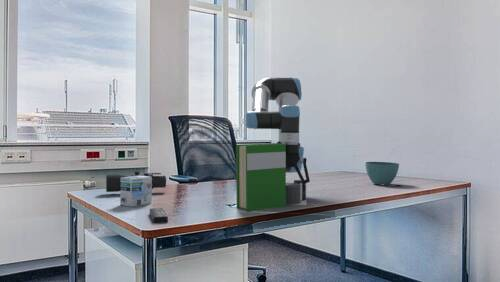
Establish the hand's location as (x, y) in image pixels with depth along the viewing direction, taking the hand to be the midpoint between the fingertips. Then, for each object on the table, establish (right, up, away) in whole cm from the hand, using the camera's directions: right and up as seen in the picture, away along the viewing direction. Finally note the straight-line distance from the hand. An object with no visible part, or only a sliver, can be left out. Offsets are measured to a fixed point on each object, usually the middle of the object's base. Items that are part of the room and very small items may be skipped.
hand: (288, 199), depth 164 cm
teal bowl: (+59, -1, +66) cm, 89 cm away
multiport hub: (-46, -2, -30) cm, 55 cm away
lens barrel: (+5, -1, +8) cm, 10 cm away
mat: (+1, -2, +3) cm, 4 cm away
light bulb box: (-60, -1, -6) cm, 61 cm away
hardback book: (-11, -2, -10) cm, 16 cm away
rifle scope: (-68, -1, +21) cm, 71 cm away
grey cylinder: (0, -1, 0) cm, 1 cm away
